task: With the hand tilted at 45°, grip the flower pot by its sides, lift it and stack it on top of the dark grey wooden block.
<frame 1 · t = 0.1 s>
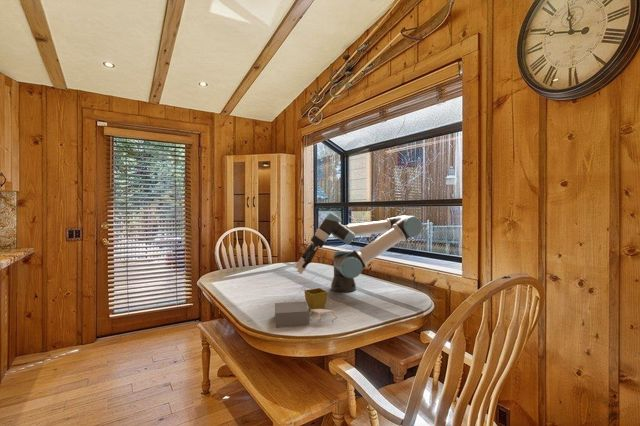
hand: (297, 270, 171), 15 cm above the table, tool tilted 35°, fingers open, 13 cm apart
flower pot: (316, 309, 152), on the table
base block: (291, 320, 137), on the table
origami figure: (323, 322, 135), on the table
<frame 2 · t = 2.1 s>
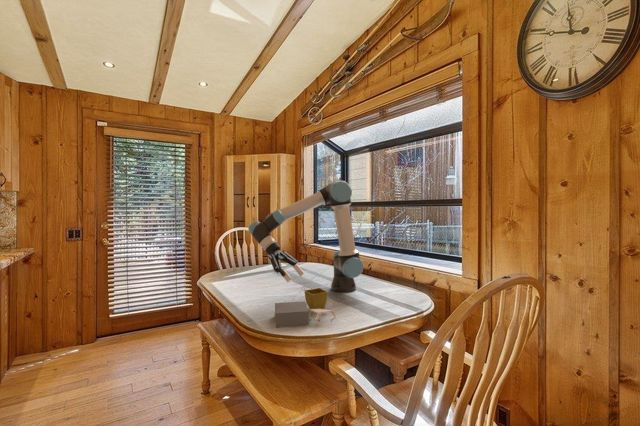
hand: (296, 277, 156), 15 cm above the table, tool tilted 45°, fingers open, 13 cm apart
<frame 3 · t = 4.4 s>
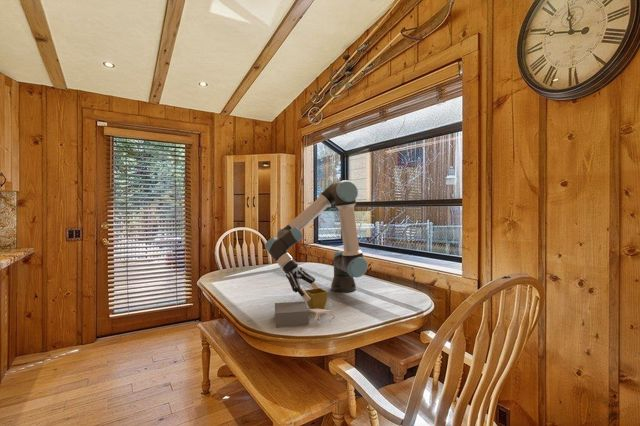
hand: (314, 296, 152), 6 cm above the table, tool tilted 45°, fingers open, 13 cm apart
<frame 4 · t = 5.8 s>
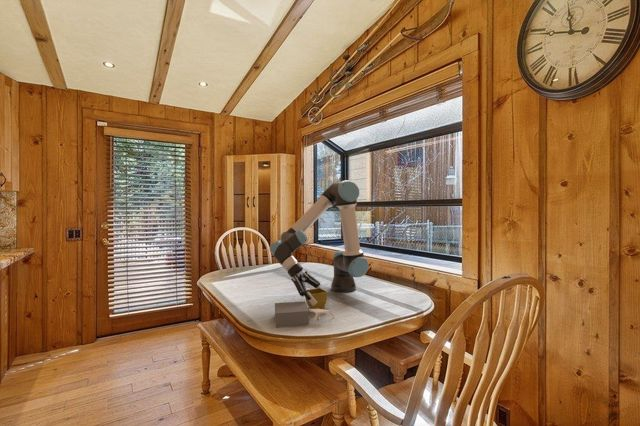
hand: (320, 300, 151), 4 cm above the table, tool tilted 45°, fingers closed on flower pot, 12 cm apart
flower pot: (316, 309, 152), on the table, touching gripper
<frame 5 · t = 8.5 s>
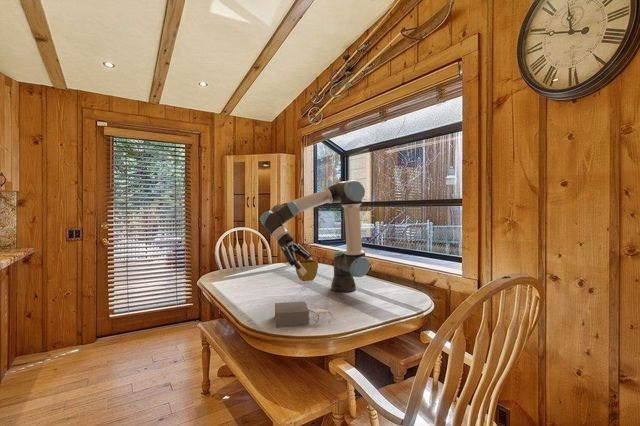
hand: (311, 271, 146), 20 cm above the table, tool tilted 45°, fingers closed on flower pot, 12 cm apart
flower pot: (306, 280, 148), point 15 cm above the table, touching gripper
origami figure: (320, 322, 135), on the table, touching base block
when the fingers open (12 cm above the table, at t = 11.4 s): flower pot drops 1 cm, resting on base block.
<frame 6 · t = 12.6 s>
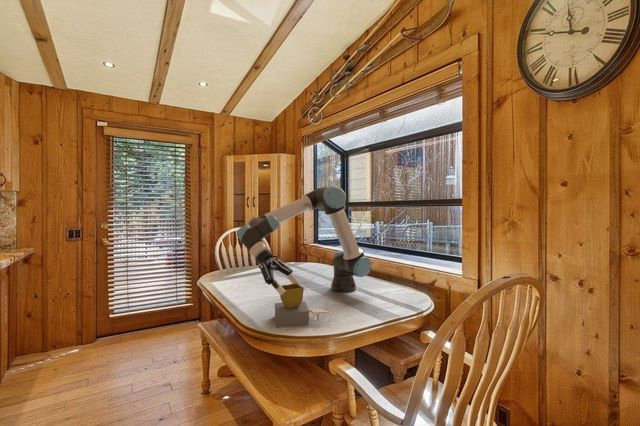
hand: (291, 289, 137), 14 cm above the table, tool tilted 45°, fingers open, 13 cm apart
flower pot: (291, 307, 138), point 6 cm above the table, touching base block, gripper
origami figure: (319, 322, 135), on the table
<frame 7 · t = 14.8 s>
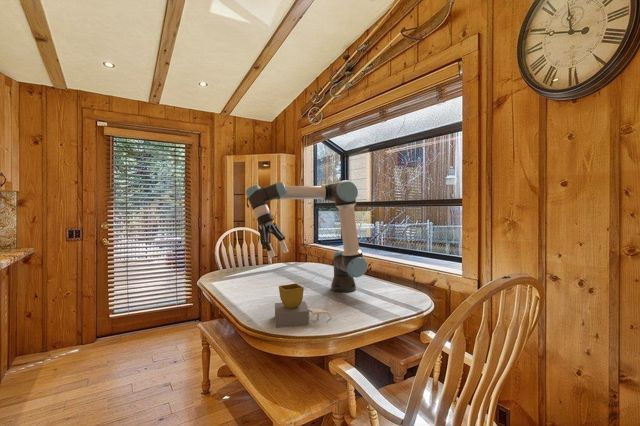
hand: (279, 254, 153), 27 cm above the table, tool tilted 25°, fingers open, 13 cm apart
flower pot: (291, 307, 138), point 6 cm above the table, touching base block
everything else where it was.
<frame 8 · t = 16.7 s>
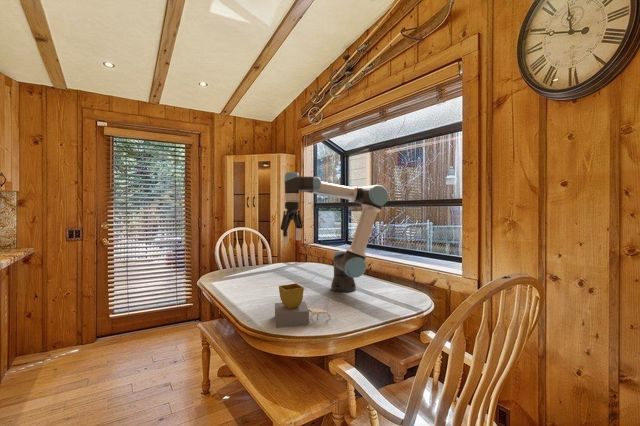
hand: (292, 241, 166), 32 cm above the table, tool pointing down, fingers open, 13 cm apart
nothing on the table moved.
at the end: flower pot inside the target area on the base block (0.2 cm from its centre), point 5.8 cm above the base block's base; flower pot tilted 0°; the gripper is holding nothing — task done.
